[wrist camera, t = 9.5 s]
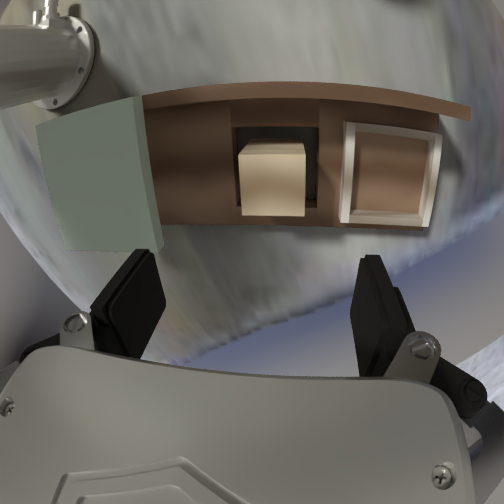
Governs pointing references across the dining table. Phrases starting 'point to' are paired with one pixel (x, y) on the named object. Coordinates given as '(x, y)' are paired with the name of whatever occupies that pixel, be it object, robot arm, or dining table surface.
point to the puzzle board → (328, 151)
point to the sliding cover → (101, 178)
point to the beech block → (273, 177)
